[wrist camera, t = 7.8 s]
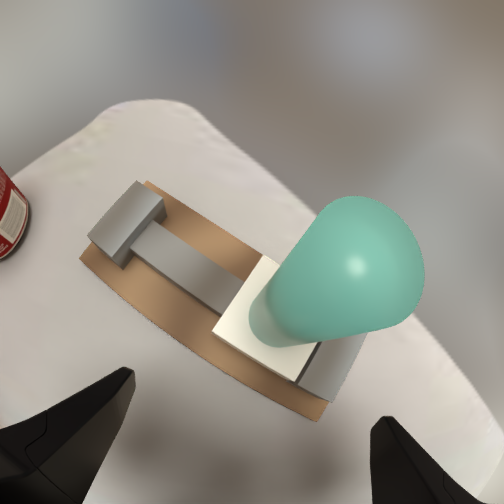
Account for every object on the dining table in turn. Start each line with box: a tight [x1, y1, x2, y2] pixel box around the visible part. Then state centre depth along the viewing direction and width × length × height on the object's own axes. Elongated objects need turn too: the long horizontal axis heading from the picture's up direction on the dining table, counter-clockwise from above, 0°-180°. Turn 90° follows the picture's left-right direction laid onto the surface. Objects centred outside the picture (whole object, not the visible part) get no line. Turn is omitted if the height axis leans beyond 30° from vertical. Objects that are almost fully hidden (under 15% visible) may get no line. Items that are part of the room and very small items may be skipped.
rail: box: [79, 180, 368, 422], centre depth 17 cm, size 20×8×3 cm, turn 58°
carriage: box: [212, 196, 424, 382], centre depth 11 cm, size 5×5×12 cm
